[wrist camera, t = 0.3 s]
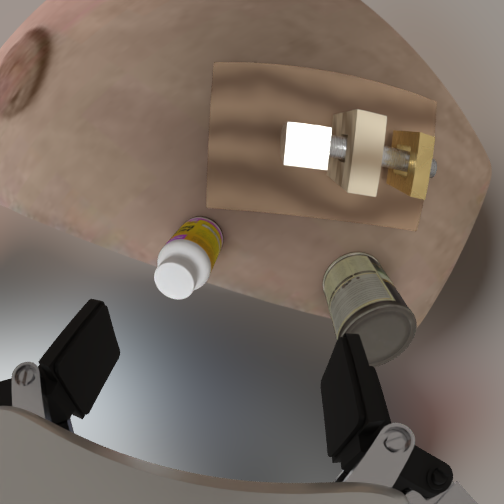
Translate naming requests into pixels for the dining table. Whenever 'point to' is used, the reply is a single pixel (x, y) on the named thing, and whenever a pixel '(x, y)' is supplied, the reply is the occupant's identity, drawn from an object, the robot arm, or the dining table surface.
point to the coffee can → (368, 307)
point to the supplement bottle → (188, 258)
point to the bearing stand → (314, 113)
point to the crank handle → (329, 148)
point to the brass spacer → (412, 163)
